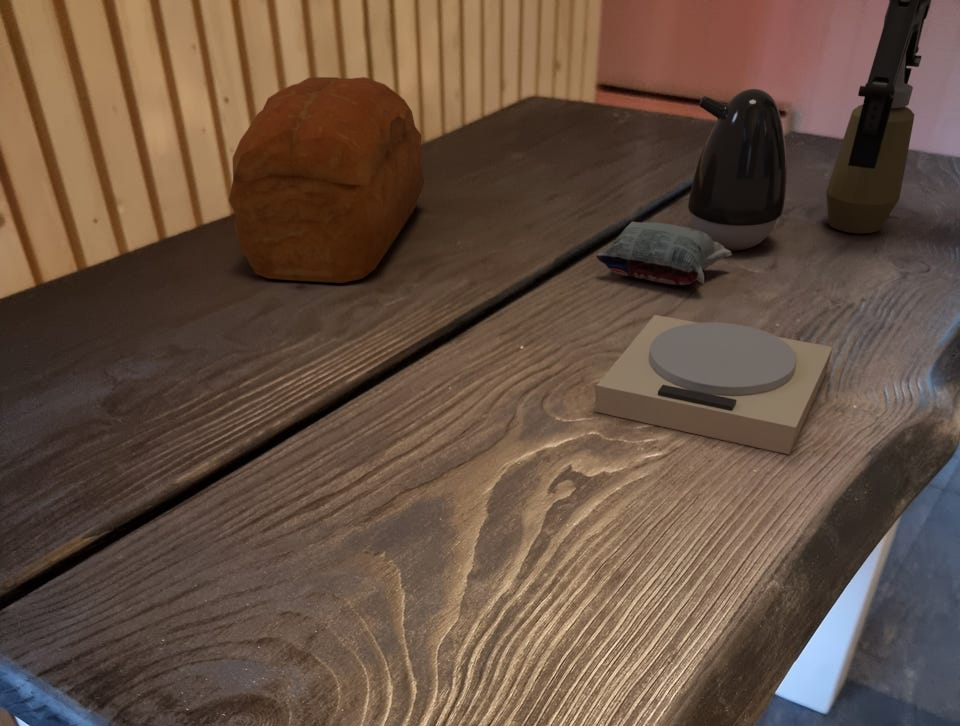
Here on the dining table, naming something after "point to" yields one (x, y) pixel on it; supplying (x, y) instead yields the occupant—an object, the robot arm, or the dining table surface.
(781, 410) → the scale
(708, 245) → the packaged food
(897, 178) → the squeeze bottle
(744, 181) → the pump dispenser
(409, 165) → the bread
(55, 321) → the dining table surface
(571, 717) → the dining table surface
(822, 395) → the dining table surface
